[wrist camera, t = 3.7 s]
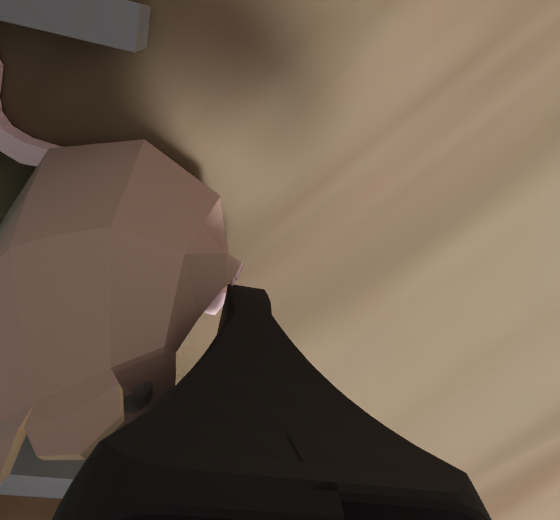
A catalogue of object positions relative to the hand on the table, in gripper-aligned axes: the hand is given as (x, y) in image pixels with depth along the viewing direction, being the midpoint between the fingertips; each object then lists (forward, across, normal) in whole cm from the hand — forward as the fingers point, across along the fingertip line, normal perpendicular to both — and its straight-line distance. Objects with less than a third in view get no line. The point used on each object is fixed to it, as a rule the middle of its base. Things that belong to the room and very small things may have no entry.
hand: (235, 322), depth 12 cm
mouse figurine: (+2, +4, -2) cm, 4 cm away
